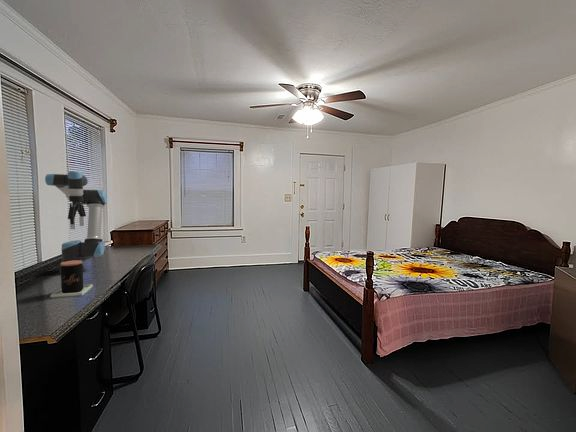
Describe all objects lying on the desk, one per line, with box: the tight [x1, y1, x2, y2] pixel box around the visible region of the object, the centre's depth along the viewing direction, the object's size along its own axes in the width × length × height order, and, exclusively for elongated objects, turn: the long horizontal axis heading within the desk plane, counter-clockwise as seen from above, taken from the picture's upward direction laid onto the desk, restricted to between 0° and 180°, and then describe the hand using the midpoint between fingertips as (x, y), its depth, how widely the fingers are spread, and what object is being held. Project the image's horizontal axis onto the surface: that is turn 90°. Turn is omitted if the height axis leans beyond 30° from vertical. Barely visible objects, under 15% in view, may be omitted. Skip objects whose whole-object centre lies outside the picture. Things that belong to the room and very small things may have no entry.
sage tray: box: [50, 284, 94, 299], centre depth 170 cm, size 16×16×2 cm
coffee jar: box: [59, 259, 84, 293], centre depth 169 cm, size 11×11×18 cm
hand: (77, 227), depth 184 cm, fingers open, 13 cm apart
